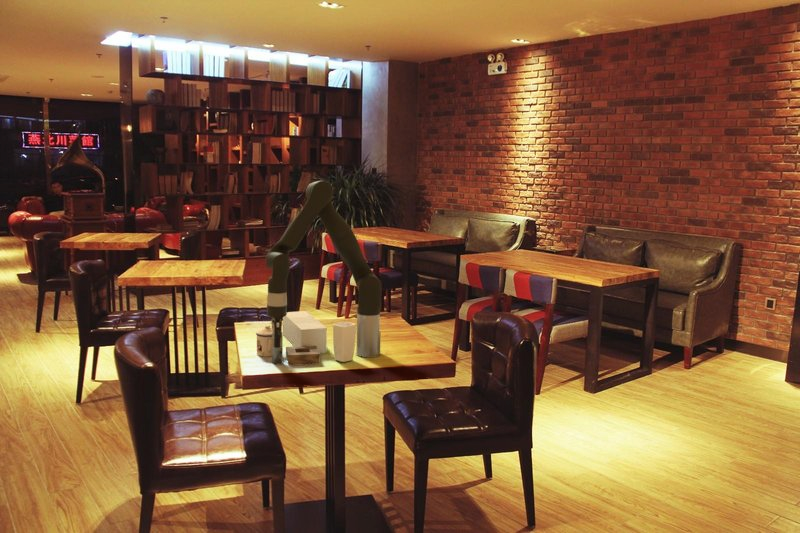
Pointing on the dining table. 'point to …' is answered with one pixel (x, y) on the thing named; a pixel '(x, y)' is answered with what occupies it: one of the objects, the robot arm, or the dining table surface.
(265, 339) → the teacup with lid
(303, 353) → the socket block
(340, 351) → the cup
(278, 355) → the metal pin
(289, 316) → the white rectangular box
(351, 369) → the dining table surface
